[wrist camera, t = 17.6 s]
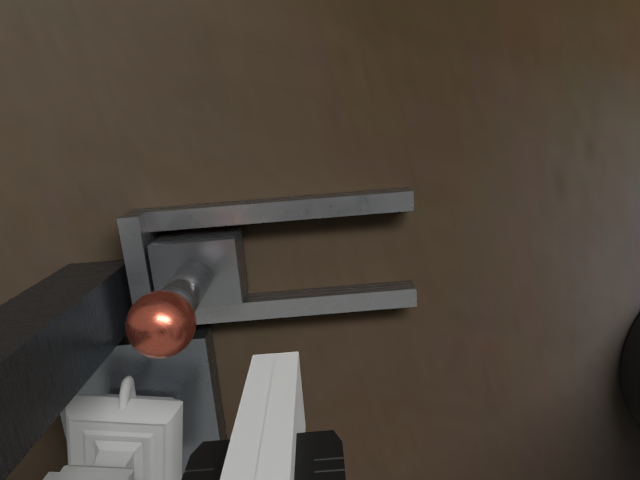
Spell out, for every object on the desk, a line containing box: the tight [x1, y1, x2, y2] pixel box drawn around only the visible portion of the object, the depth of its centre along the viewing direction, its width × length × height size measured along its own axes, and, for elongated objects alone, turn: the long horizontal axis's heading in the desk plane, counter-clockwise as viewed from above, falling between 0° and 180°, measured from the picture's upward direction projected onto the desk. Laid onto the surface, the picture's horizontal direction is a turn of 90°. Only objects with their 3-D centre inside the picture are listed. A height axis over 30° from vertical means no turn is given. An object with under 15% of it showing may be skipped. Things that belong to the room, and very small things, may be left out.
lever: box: [125, 228, 248, 359], centre depth 25 cm, size 5×4×11 cm
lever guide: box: [117, 187, 417, 325], centre depth 30 cm, size 17×7×3 cm, turn 94°
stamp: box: [43, 376, 183, 480], centre depth 27 cm, size 9×7×8 cm
